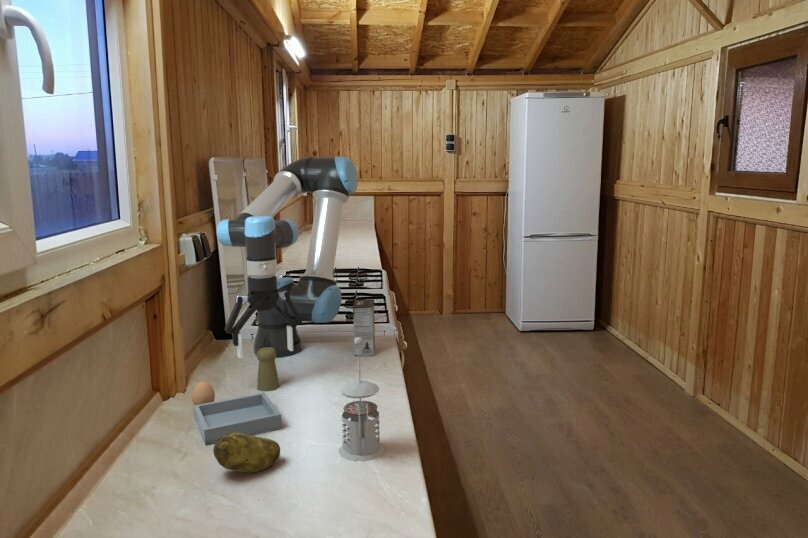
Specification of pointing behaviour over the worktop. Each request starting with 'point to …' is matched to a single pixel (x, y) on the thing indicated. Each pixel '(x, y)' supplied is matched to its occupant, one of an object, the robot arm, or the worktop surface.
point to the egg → (203, 394)
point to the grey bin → (236, 417)
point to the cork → (267, 370)
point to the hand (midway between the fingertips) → (265, 353)
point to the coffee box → (364, 326)
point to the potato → (246, 452)
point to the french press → (360, 420)
